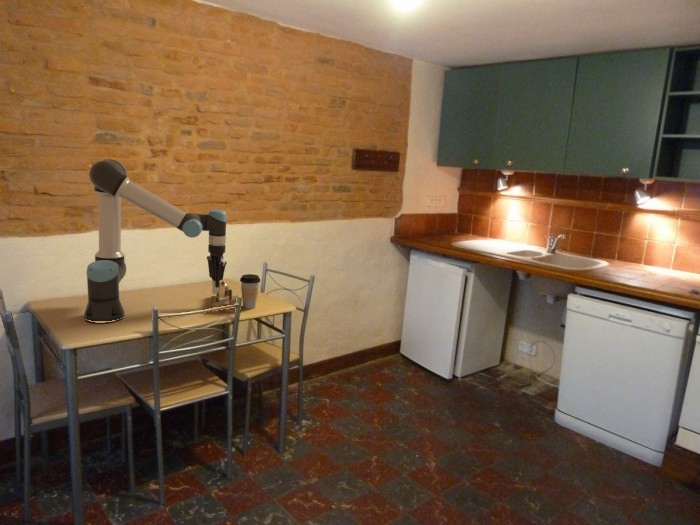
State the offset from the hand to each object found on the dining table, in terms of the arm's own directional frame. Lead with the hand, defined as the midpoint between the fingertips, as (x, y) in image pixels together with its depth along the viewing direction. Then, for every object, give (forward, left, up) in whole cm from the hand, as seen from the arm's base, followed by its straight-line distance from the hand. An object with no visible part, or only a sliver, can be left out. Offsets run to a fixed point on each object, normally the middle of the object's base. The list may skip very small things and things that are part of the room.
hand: (215, 293), depth 237 cm
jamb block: (+4, +11, -6) cm, 14 cm away
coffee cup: (+15, -2, -6) cm, 17 cm away
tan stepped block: (+4, -3, -6) cm, 8 cm away
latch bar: (+3, +4, -1) cm, 6 cm away
